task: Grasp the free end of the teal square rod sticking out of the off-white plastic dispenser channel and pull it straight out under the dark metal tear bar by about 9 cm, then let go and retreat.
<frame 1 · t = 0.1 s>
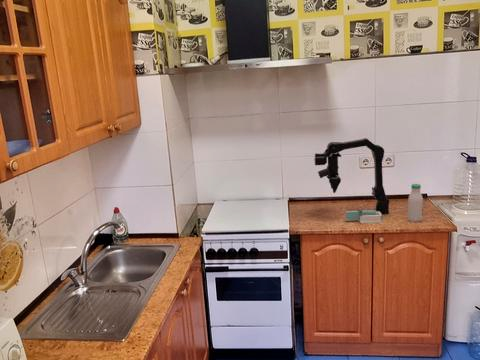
hand: (333, 190, 246), 15 cm above the worktop, fingers open, 9 cm apart
dispenser: (369, 220, 235), on the worktop
milk bottle: (414, 220, 232), on the worktop
teal square rod: (360, 215, 235), point 3 cm above the worktop, slide at 0.0 cm
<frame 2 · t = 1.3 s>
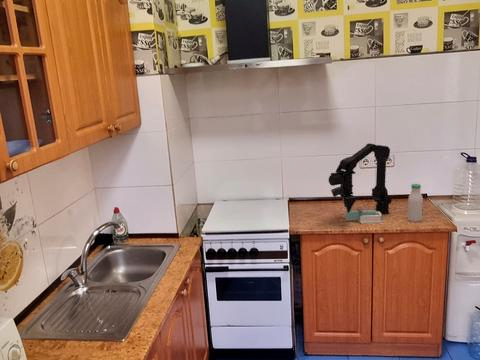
hand: (347, 209, 235), 7 cm above the worktop, fingers open, 9 cm apart
nothing on the worktop moved.
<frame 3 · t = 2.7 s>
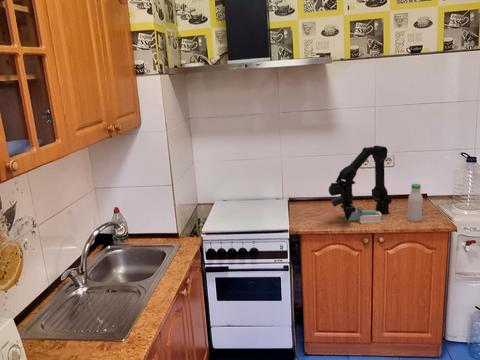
hand: (347, 219, 236), 1 cm above the worktop, fingers closed on teal square rod, 2 cm apart
teal square rod: (360, 215, 235), point 3 cm above the worktop, slide at 0.0 cm, touching gripper
everything else where it was.
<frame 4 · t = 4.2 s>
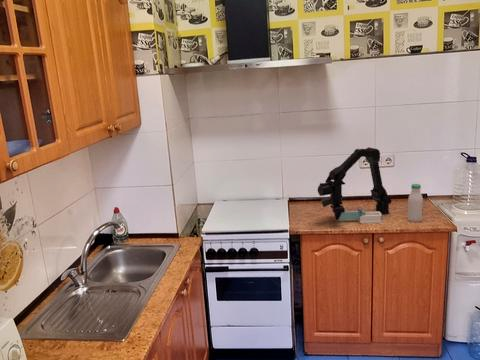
hand: (336, 219, 237), 1 cm above the worktop, fingers closed on teal square rod, 2 cm apart
teal square rod: (350, 215, 236), point 3 cm above the worktop, slide at 5.6 cm, touching gripper
everything else where it was.
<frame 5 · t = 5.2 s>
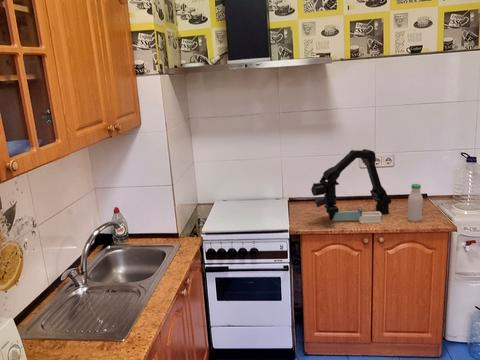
hand: (330, 219, 237), 1 cm above the worktop, fingers closed on teal square rod, 2 cm apart
teal square rod: (344, 215, 236), point 3 cm above the worktop, slide at 8.9 cm, touching gripper
everything else where it was.
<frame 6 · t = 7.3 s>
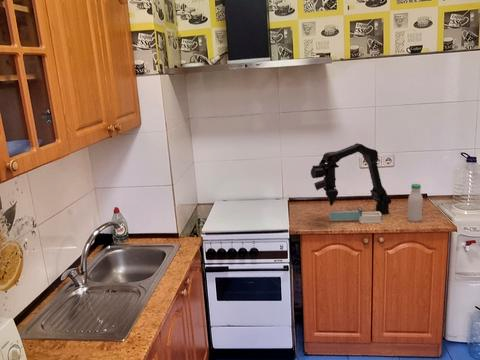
hand: (330, 203, 235), 11 cm above the worktop, fingers open, 9 cm apart
teal square rod: (344, 215, 236), point 3 cm above the worktop, slide at 8.9 cm
everything else where it was.
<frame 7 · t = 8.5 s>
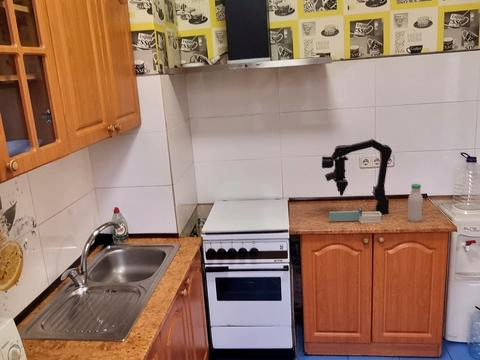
hand: (340, 193, 248), 12 cm above the worktop, fingers open, 9 cm apart
nothing on the worktop moved.
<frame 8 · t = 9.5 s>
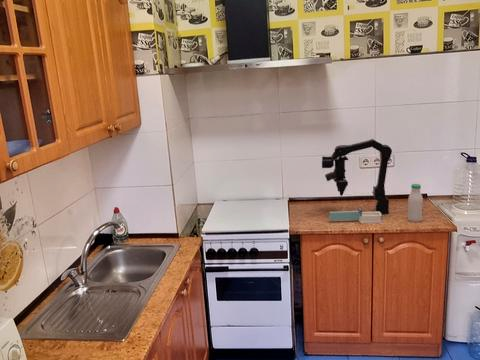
hand: (340, 193, 248), 12 cm above the worktop, fingers open, 9 cm apart
nothing on the worktop moved.
at the end: teal square rod slide at 8.9 cm; the gripper is holding nothing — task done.
